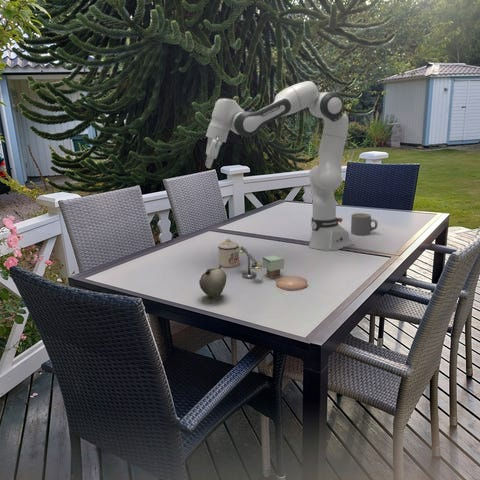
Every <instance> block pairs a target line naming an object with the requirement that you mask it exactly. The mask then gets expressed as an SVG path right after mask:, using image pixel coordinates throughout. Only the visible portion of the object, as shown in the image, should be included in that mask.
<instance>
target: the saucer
mask: <svg viewBox="0 0 480 480" xmlns="http://www.w3.org/2000/svg"><path fill="white" fill-rule="evenodd" d="M275 285H276V287H277V288H278V289H280V290H285V291H300V290H304V289H306V288H307V287H308V280H307V279H306V278H304V277H301V276H297V275H285V276H280V277H279V278H277V279H276V281H275Z"/></svg>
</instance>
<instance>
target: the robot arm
mask: <svg viewBox="0 0 480 480" xmlns="http://www.w3.org/2000/svg"><path fill="white" fill-rule="evenodd" d="M213 107H214V108H213V110H212V113H211V120H210V123H209V124H208V127H207V130H206V134H205V137H207V143H206V150H205V154H206V158H205V159H206V160H205V165H204V166H206V168H208V169H211V168H212V165H213V162H214V160H216V159H217V158H218V155H219V153H220V149H221V146H222V145H223V143H227V139H228V135H229V132H230V131H231V132H232V133H234V134H237V135H240V136H241V137H244V138H251V137H253V136H255V135H256V134H257V133H258V132H259V131H260V130H261V129H262V128H263V127H264V126H265V125H267V124H269V123H271V122H273V121H276V120H277V119H280V118H281V117H282V118H283V117H286V116H288V115H292V114H295V113H297V112H300V111H301V110H305V109H306V111H307V113H308V114H309V115H310V116H311V117H314V118H318V119H319V118H320V119H322V120H323V124H324V125H323V131H322V134H321V139H320V142H319V147H318V164H317V165H314V166H313V167H312V168H311V169H310V171H309V173H308V178H309V185H310V193H311V198H312V202H311V203H312V216H311V221H310V222H311V234H310V239H309V243H308V246H309V248H312V249H316V250H322V251H323V250H325V251H338V250H341V249H340V248H342V249H344V248H343V247H345V248H347V246H348V247H350V245H351V246H353V245H355V242H354V240H352V239H350V233H349V231H347V229H345V228H343V227H342V226H341V225H340V224H339V223H342V222H343V218H340V217H336V215H337V202H336V201H337V200H336V198H335V197H336V196H335V191H337V190H338V189H339V188H340V187H341V186H342V182H343V177H342V167H343V153H344V149H345V145H346V140H347V136H348V132H349V115H347V114H346V113H345V109H344V108H345V103H344V99H343V98H342V96H341V95H339V94H338V93H336V92H329V91H328V92H327V91H326V92H325V91H323V92H320V91H319V88H318V87H317V85H316V84H315V83H314V82H313V81H310V80H306V81H303V82H302V81H301V82H299V83H296V84H292V85H291V86H288V87H286V88H284V89H282V90H281V91H279V92H278V93H277V94H276V95H275V97H274V101H273V102H272V103H271V104H268V105H266V106H265V107H262V108H261V109H259V110H256V111H245V110H244V109H243V108H241V106H240V105H239V104H238V103H237V101H236V100H235V99H233V98H228V97H220V98H219V99H217V101H216V102H215V105H214V106H213Z"/></svg>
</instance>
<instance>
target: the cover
mask: <svg viewBox="0 0 480 480" xmlns="http://www.w3.org/2000/svg"><path fill="white" fill-rule="evenodd" d="M284 261H285V259H284V258H283V257H281V256H279V255H277V254H272V255H267V256H263V257H262V268H264V269H266V270H267V269H268V270H269V271H274V270H279V269H280V270H283V269H284V268H285V262H284Z"/></svg>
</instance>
